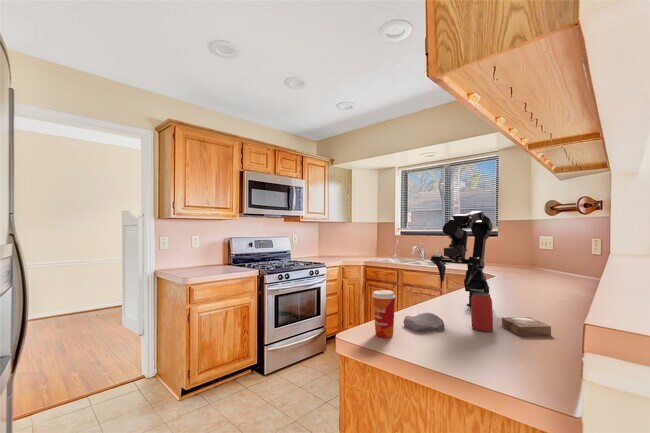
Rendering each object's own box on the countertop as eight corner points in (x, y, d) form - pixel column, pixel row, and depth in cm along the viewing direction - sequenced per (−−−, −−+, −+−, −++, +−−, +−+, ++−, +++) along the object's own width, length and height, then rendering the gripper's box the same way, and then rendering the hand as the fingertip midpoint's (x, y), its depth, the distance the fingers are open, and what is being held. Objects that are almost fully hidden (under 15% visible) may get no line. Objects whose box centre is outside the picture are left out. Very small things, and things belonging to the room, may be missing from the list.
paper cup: (368, 333, 104) (367, 290, 104) (387, 329, 107) (387, 289, 107) (380, 340, 97) (380, 295, 97) (401, 337, 100) (400, 293, 100)
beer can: (473, 331, 104) (472, 295, 105) (470, 325, 111) (469, 291, 111) (495, 333, 103) (494, 296, 103) (490, 326, 109) (489, 292, 109)
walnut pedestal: (502, 326, 109) (501, 317, 109) (530, 325, 109) (530, 316, 110) (520, 336, 99) (519, 326, 99) (551, 335, 99) (550, 325, 100)
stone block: (447, 335, 107) (429, 321, 116) (448, 322, 106) (430, 309, 115) (417, 340, 103) (401, 325, 112) (418, 327, 102) (402, 313, 112)
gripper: (427, 236, 124) (421, 275, 119) (477, 237, 111) (472, 280, 106) (438, 245, 131) (433, 282, 127) (486, 247, 119) (482, 288, 114)
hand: (453, 283), depth 118 cm, fingers open, 9 cm apart
